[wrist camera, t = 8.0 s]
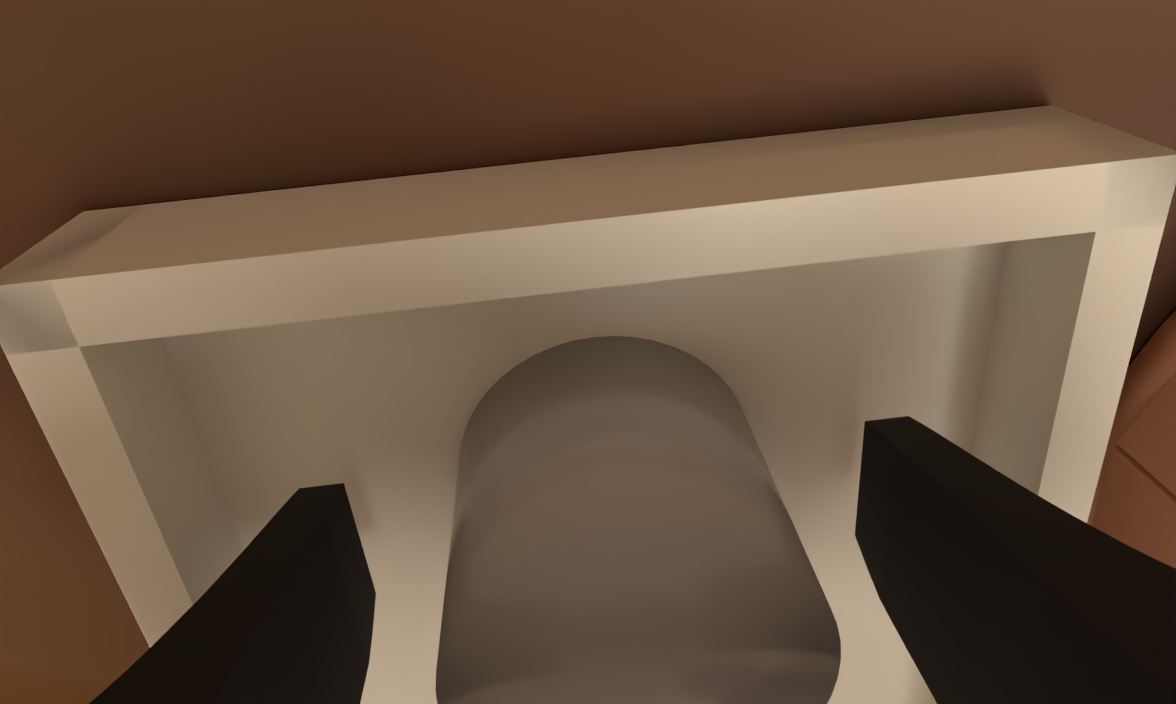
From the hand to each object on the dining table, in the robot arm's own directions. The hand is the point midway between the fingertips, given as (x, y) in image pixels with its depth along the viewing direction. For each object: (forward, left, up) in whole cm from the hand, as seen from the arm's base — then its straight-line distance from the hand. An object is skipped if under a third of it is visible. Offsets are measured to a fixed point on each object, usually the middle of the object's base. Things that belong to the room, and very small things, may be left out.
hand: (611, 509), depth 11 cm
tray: (-5, 0, -2) cm, 5 cm away
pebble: (0, 0, -1) cm, 1 cm away
